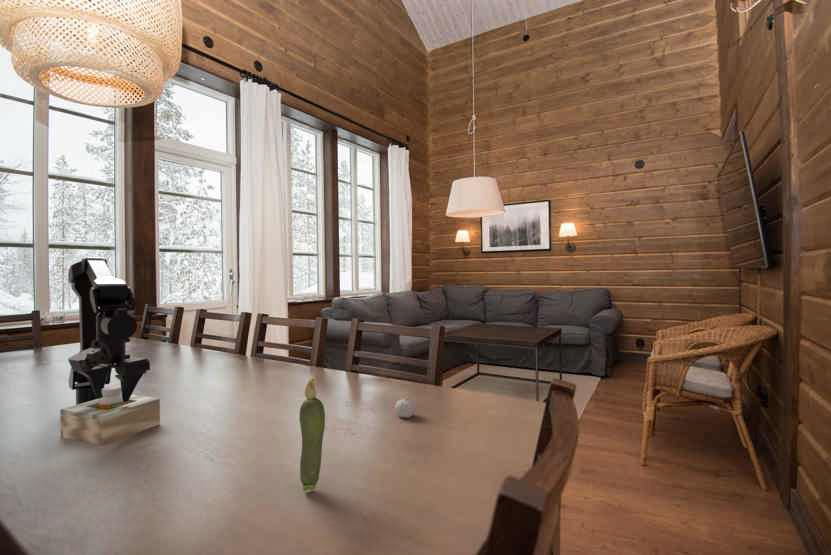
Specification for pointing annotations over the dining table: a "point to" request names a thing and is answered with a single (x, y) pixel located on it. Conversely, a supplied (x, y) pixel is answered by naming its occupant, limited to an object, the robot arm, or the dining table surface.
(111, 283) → the robot arm
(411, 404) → the garlic
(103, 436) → the crate
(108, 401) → the supplement bottle
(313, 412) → the vegetable
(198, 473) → the dining table surface
